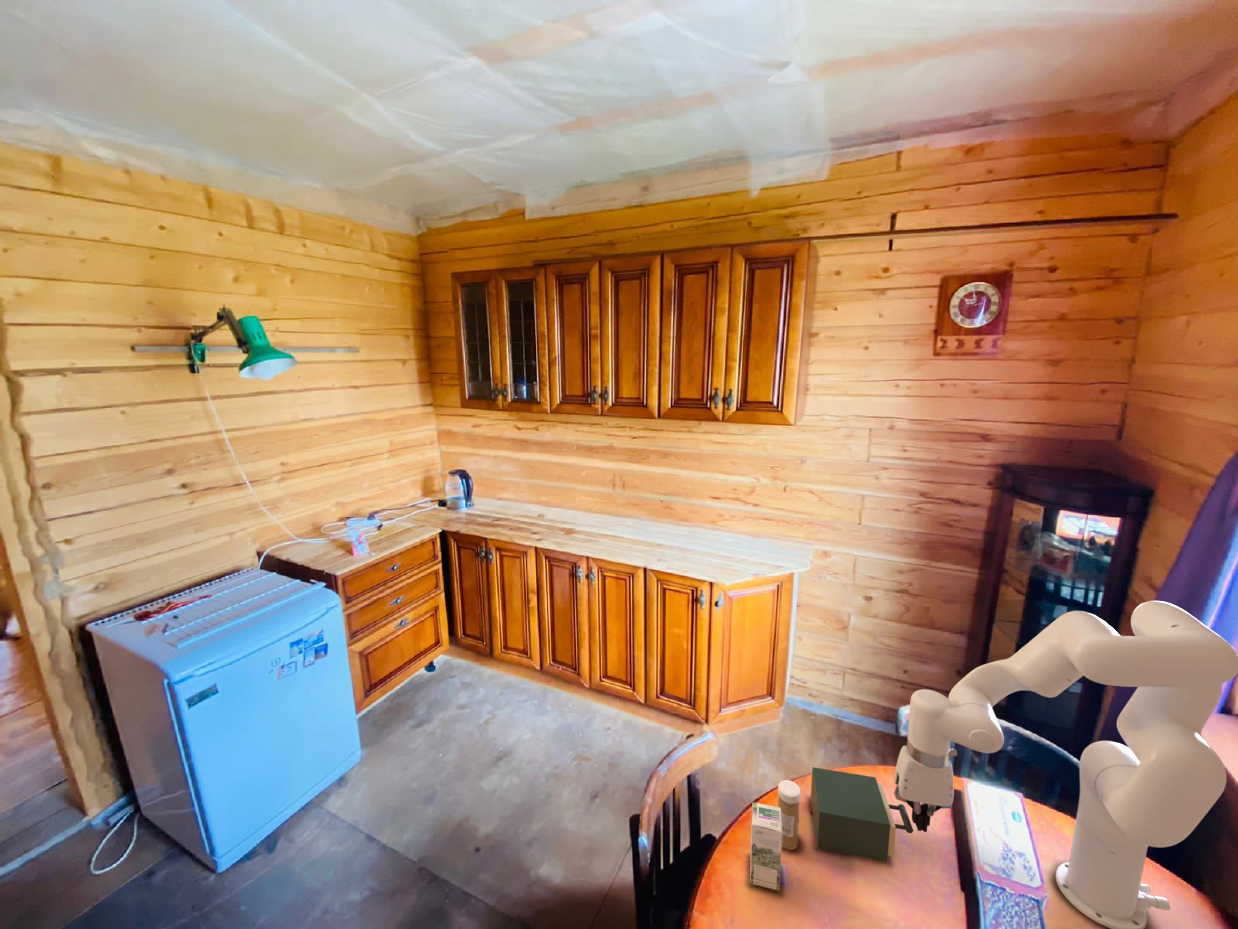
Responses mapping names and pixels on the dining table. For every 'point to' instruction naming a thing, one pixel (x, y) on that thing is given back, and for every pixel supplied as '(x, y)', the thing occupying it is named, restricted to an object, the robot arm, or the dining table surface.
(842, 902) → the dining table surface
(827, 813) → the cabinet
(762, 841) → the syrup box
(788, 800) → the spice jar
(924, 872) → the dining table surface
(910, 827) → the drawer
